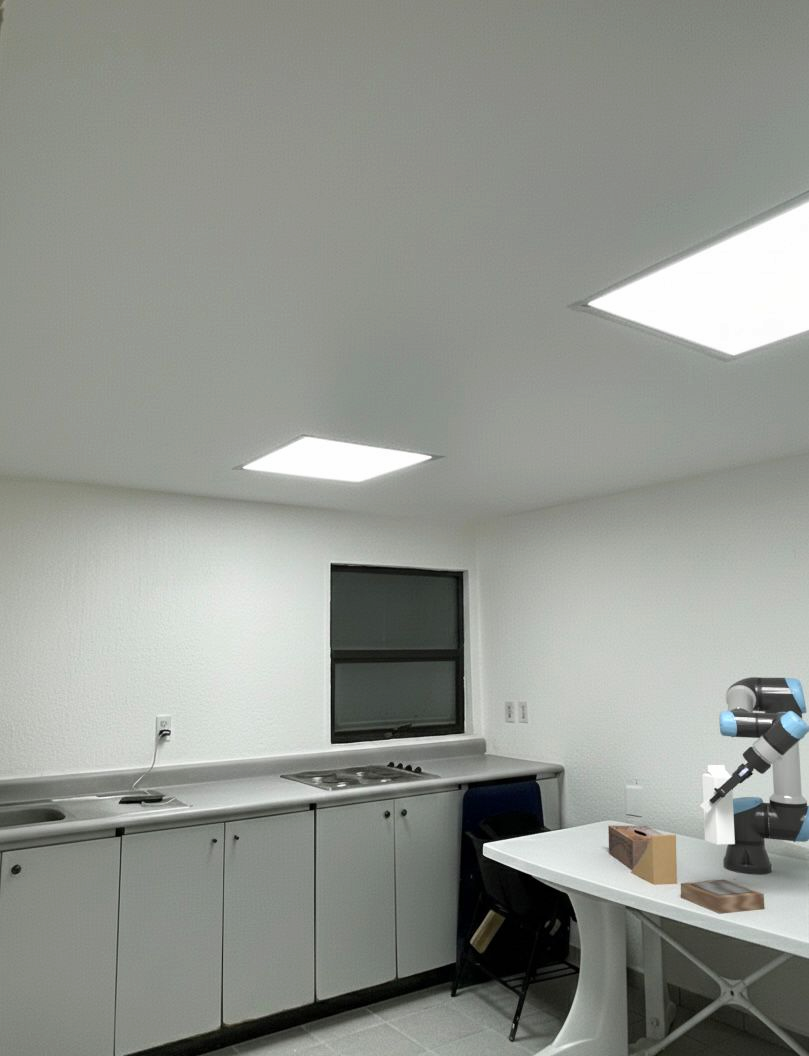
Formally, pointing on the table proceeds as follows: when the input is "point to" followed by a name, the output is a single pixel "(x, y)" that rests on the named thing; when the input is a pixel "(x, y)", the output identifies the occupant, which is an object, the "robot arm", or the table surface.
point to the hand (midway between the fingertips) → (706, 806)
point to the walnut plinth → (722, 896)
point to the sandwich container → (658, 861)
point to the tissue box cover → (629, 843)
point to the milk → (718, 808)
